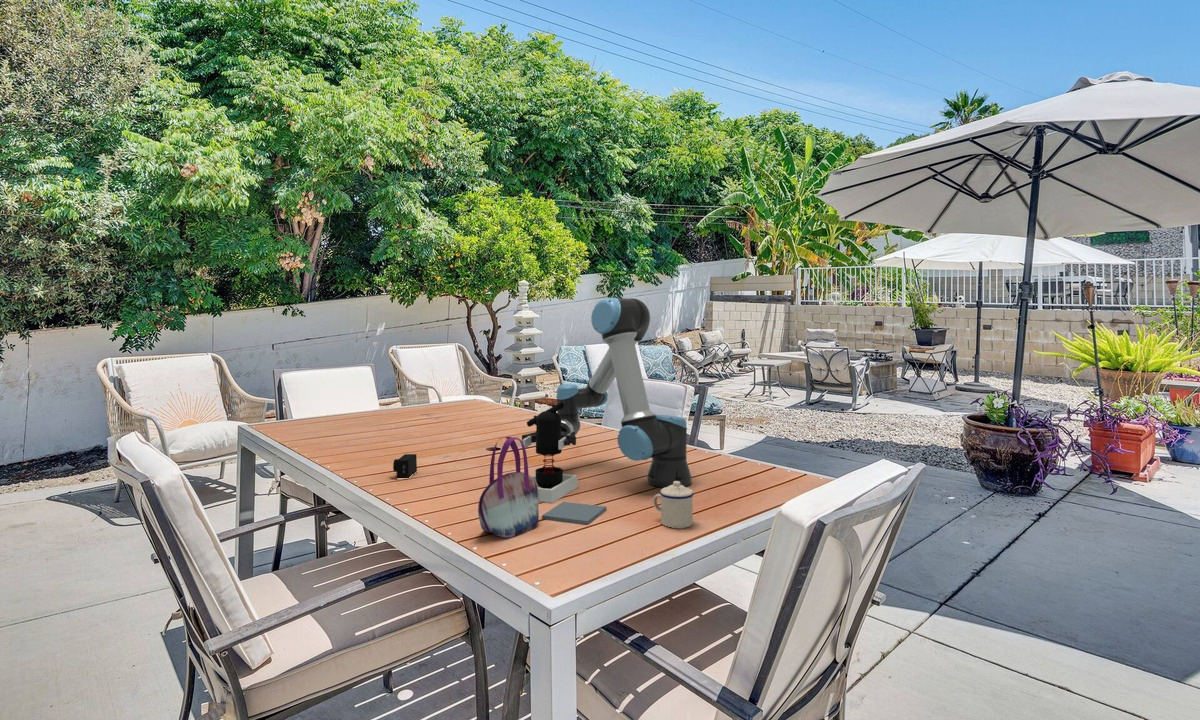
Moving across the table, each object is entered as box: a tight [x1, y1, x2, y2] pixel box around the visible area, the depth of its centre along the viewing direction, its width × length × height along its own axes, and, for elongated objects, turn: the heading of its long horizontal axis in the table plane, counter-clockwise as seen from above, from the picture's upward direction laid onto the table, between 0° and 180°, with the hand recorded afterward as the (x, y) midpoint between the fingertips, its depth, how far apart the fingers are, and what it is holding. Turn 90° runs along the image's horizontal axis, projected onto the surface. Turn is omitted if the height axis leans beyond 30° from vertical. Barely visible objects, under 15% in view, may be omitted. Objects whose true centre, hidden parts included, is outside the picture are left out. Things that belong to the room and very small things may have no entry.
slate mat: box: [541, 501, 607, 526], centre depth 178 cm, size 14×14×1 cm
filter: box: [526, 402, 564, 489], centre depth 199 cm, size 14×9×30 cm
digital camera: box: [392, 453, 418, 479], centre depth 223 cm, size 10×5×7 cm, turn 1°
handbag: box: [477, 436, 540, 538], centre depth 165 cm, size 21×10×25 cm, turn 143°
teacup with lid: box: [652, 481, 694, 529], centre depth 170 cm, size 12×9×12 cm
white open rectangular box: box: [530, 473, 579, 504], centre depth 200 cm, size 14×19×4 cm
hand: (541, 444), depth 195 cm, fingers closed on filter, 11 cm apart
